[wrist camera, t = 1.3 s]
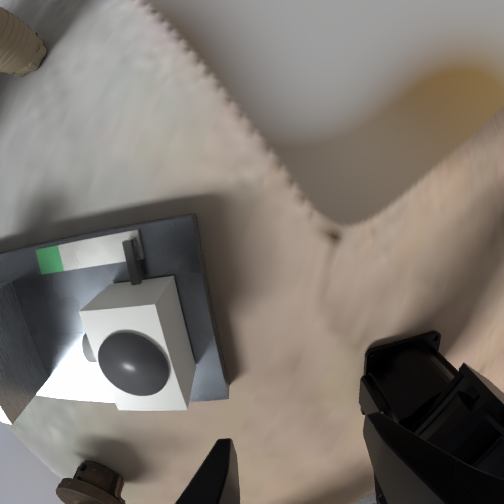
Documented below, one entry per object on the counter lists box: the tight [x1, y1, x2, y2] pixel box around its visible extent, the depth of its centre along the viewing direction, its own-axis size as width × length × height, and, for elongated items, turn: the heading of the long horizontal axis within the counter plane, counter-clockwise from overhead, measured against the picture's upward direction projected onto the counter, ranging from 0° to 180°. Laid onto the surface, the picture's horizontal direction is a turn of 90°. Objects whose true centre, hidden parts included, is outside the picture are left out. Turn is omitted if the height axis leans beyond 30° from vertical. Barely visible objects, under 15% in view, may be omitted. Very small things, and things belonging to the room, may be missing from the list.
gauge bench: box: [0, 213, 229, 425], centre depth 15 cm, size 18×12×8 cm
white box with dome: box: [79, 239, 196, 411], centre depth 15 cm, size 6×8×4 cm, turn 8°
